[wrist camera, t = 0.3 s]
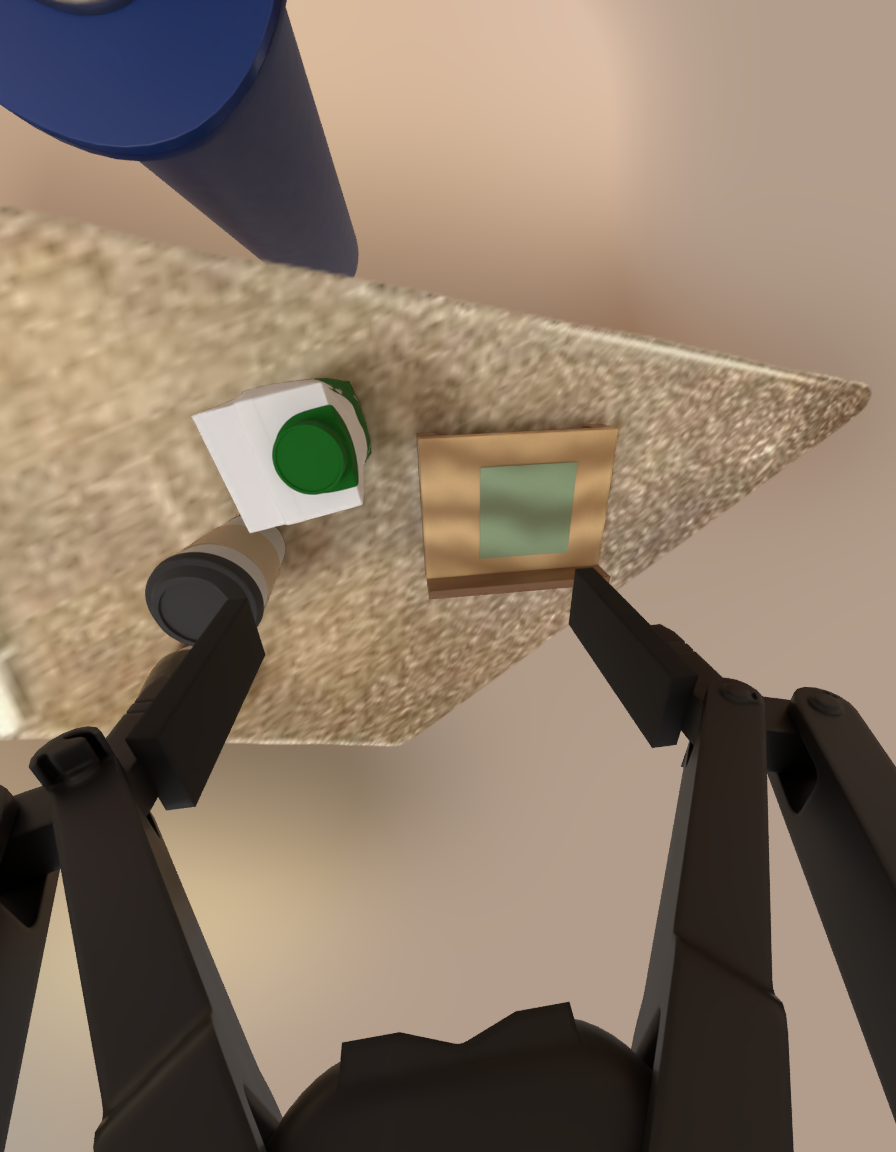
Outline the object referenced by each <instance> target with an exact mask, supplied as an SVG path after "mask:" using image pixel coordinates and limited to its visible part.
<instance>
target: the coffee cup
mask: <svg viewBox="0 0 896 1152" xmlns="http://www.w3.org/2000/svg"><path fill="white" fill-rule="evenodd" d="M284 555H285V542H284V539H283V537H282V535H281V533H280V532H279V530H278V529H277V528H276V527H273V528H269V529H265V530H261V531H257V532H253V533H249V531H248V529H247V527H246V525H245V523H244V521H243V519H242V517H241V516H239V517H236V518H234V519H232V520H230V521H229V522H227V523H226V524H224V525H223V526H221V527H218V528H216V529H214V530H212V531H211V532H209V533H208V534H206V535H205V536H203V537H201V538H200V539H198V540H197V541H195V542H194V543H192V544H191V545H189V546H187V547H186V548H184V549H183V550H181V551H180V552H179V553H177V554H176V555H174V556H171V557H169V558H167V559H166V560H164V561H163V562H161V563H160V564H159V565H158V566H157V567H156V568H155V569H154V571H153V572H152V574H151V576H150V577H149V579H148V581H147V585H146V590H145V596H146V602H147V606H148V608H149V611H150V613H151V615H152V616H153V618H154V619H155V621H156V622H157V623H158V625H159V626H160V627H161V628H162V630H163V631H165V632H166V633H167V634H168V635H169V636H171V637H172V638H174V639H175V640H177V641H179V642H181V643H184V644H186V645H190V646H193V645H194V644H195V643H196V641H197V640H198V639H199V637H200V636H201V634H202V633H203V632H204V630H205V629H206V628H207V626H208V625H209V624H210V622H211V621H212V619H213V618H214V617H215V615H216V614H217V613H218V611H219V610H220V609H221V607H222V606H223V604H224V603H225V602H226V600H229V599H240V598H248V601H249V604H250V607H251V610H252V614H253V617H254V620H255V623H256V626H258V625H259V623H260V622H261V619H262V616H263V612H264V609H265V607H266V605H267V603H268V600H269V598H270V595H271V592H272V590H273V587H274V585H275V582H276V579H277V577H278V574H279V570H280V565H281V563H282V560H283V558H284Z"/></svg>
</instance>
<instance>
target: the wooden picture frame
mask: <svg viewBox="0 0 896 1152" xmlns="http://www.w3.org/2000/svg"><path fill="white" fill-rule="evenodd" d="M618 430H619V429H618V428H614V427H610V426H607V425H603V424H591V425H583V428H581V429H561V430H541V431H522V432H502V433H482V434H463V435H443V436H437V435H436V433H435V432H431V433H416V438H417V453H418V469H419V484H420V499H421V515H422V530H423V545H424V560H425V573H426V580H427V587H428V594H429V599H440V598H452V597H464V596H475V595H487V594H499V593H511V592H522V591H534V590H546V589H557V588H569V587H573V584H574V575H575V569H578V568H589V567H593V568H594V569H595V570H596V571H597V572H598V573H599V574H600V575H601V576H602V577H603V578H604V579H605V580H606V581H607V582H608V583H609V580H610V576H609V575H608V574H607V573H606V572H605V571H604V570H603V569H602V568H601V567H600V566H599V565H598V561H599V555H600V548H601V542H602V535H603V529H604V522H605V515H606V509H607V502H608V496H609V489H610V483H611V476H612V469H613V463H614V456H615V450H616V443H617V437H618Z"/></svg>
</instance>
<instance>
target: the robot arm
mask: <svg viewBox="0 0 896 1152" xmlns="http://www.w3.org/2000/svg"><path fill="white" fill-rule="evenodd" d="M35 1H37V2H39V3H41V4H43V5H45V6H47V7H50V8H53V9H56V10H59V11H62V12H66V13H70V14H76V15H101V14H106V13H110V12H113V11H116V10H119V9H121V8H123V7H124V6H126V5H128V4H130V3H131V2H132V1H133V0H35ZM569 625H570V627H571V628H572V630H573V631H574V633H575V634H576V636H577V637H578V639H579V640H580V641H581V643H582V645H583V646H584V648H585V649H586V650H587V652H588V653H589V655H590V656H591V658H592V659H593V661H594V662H595V664H596V665H597V667H598V668H599V670H600V671H601V673H602V674H603V676H604V677H605V679H606V680H607V682H608V683H609V684H610V686H611V688H612V689H613V691H614V692H615V694H616V695H617V696H618V698H619V699H620V701H621V702H622V704H623V705H624V707H625V708H626V710H627V711H628V713H629V714H630V716H631V717H632V719H633V720H634V722H635V723H636V725H637V726H638V728H639V729H640V731H641V732H642V734H643V735H644V736H645V738H646V739H647V741H648V742H649V744H650V745H651V747H652V748H655V747H663V746H670V745H676V744H677V741H678V738H679V735H680V732H681V731H682V732H683V733H684V734H685V736H686V737H687V738H688V739H689V744H688V747H687V750H686V753H685V756H684V759H683V762H682V765H681V767H684V768H683V774H682V780H681V786H680V791H679V797H678V803H677V808H676V814H675V820H674V825H673V831H672V838H671V843H670V848H669V854H668V860H667V866H666V871H665V877H664V883H663V889H662V894H661V900H660V906H659V911H658V917H657V923H656V929H655V934H654V940H653V946H652V951H651V957H650V963H649V968H648V974H647V980H646V986H645V992H644V996H643V1000H642V1004H641V1008H640V1012H639V1016H638V1019H637V1024H636V1028H635V1032H634V1037H633V1042H632V1047H631V1049H630V1048H629V1047H628V1046H627V1045H626V1044H624V1043H623V1042H622V1041H620V1040H619V1039H617V1038H616V1037H615V1036H613V1035H612V1034H610V1033H608V1032H606V1031H604V1030H603V1029H601V1028H599V1027H597V1026H595V1025H592V1024H589V1023H587V1022H584V1021H582V1020H577V1019H574V1017H573V1013H572V1009H571V1006H570V1003H569V1002H566V1003H560V1004H555V1005H549V1006H543V1007H538V1008H532V1009H527V1010H522V1011H516V1012H514V1013H512V1014H511V1015H509V1016H508V1017H506V1018H504V1019H502V1020H501V1021H499V1022H498V1023H496V1024H494V1025H493V1026H491V1027H489V1028H488V1029H486V1030H484V1031H483V1032H481V1033H480V1034H478V1035H477V1036H475V1037H473V1038H471V1039H470V1040H468V1041H466V1042H464V1043H461V1044H453V1043H449V1042H443V1041H439V1040H434V1039H430V1038H425V1037H419V1036H415V1035H410V1034H405V1033H401V1032H398V1033H393V1034H387V1035H382V1036H376V1037H371V1038H365V1039H360V1040H354V1041H349V1042H343V1043H342V1050H341V1061H340V1062H339V1063H337V1064H336V1065H334V1066H332V1067H331V1068H330V1069H328V1070H327V1071H326V1072H324V1073H323V1074H322V1075H321V1076H319V1077H318V1078H317V1079H316V1080H315V1081H314V1082H313V1083H312V1084H311V1085H310V1086H309V1087H308V1088H307V1089H306V1090H305V1091H304V1092H303V1093H302V1094H301V1095H300V1096H299V1098H298V1099H297V1100H296V1101H295V1103H294V1104H293V1105H292V1106H291V1107H290V1108H289V1110H288V1111H287V1113H286V1114H285V1116H284V1117H282V1115H281V1113H280V1110H279V1108H278V1106H277V1104H276V1101H275V1099H274V1097H273V1095H272V1093H271V1091H270V1089H269V1087H268V1085H267V1083H266V1081H265V1080H264V1078H263V1076H262V1074H261V1072H260V1070H259V1068H258V1066H257V1063H256V1061H255V1059H254V1057H253V1054H252V1052H251V1049H250V1047H249V1045H248V1042H247V1040H246V1037H245V1035H244V1033H243V1030H242V1028H241V1025H240V1023H239V1020H238V1018H237V1016H236V1013H235V1011H234V1009H233V1006H232V1004H231V1001H230V999H229V996H228V994H227V992H226V989H225V987H224V984H223V982H222V980H221V977H220V975H219V973H218V970H217V968H216V965H215V963H214V960H213V958H212V956H211V953H210V951H209V949H208V946H207V943H206V941H205V939H204V936H203V934H202V931H201V929H200V927H199V924H198V922H197V919H196V917H195V915H194V912H193V910H192V907H191V905H190V903H189V901H188V898H187V896H186V893H185V891H184V888H183V886H182V883H181V881H180V879H179V876H178V874H177V871H176V869H175V867H174V864H173V862H172V859H171V857H170V855H169V852H168V850H167V847H166V845H165V842H164V840H163V838H162V835H161V833H160V830H159V828H158V826H157V823H156V821H155V818H154V817H153V815H152V814H151V812H150V810H151V808H152V807H153V805H154V803H155V801H156V800H157V798H158V797H159V799H160V801H161V802H162V804H163V806H164V808H165V809H166V810H172V809H180V808H188V807H195V806H196V804H197V802H198V800H199V798H200V796H201V793H202V791H203V789H204V787H205V785H206V783H207V780H208V778H209V776H210V774H211V772H212V769H213V767H214V765H215V763H216V761H217V759H218V756H219V754H220V752H221V750H222V748H223V745H224V743H225V741H226V739H227V737H228V735H229V732H230V730H231V728H232V726H233V724H234V722H235V719H236V717H237V715H238V713H239V711H240V708H241V706H242V704H243V702H244V700H245V698H246V695H247V693H248V691H249V689H250V687H251V685H252V682H253V680H254V678H255V676H256V674H257V671H258V669H259V667H260V665H261V663H262V661H263V658H264V656H265V652H264V649H263V646H262V643H261V639H260V636H259V633H258V630H257V626H256V623H255V620H254V617H253V614H252V610H251V607H250V604H249V601H248V598H240V599H229V600H226V602H225V603H224V604H223V606H222V607H221V609H220V610H219V611H218V613H217V614H216V615H215V617H214V618H213V619H212V621H211V622H210V624H209V625H208V626H207V628H206V629H205V630H204V632H203V633H202V634H201V636H200V637H199V639H198V640H197V641H196V643H195V644H194V645H193V647H192V648H191V649H190V651H189V652H188V654H187V655H186V656H185V658H184V659H183V660H182V662H181V663H180V664H179V666H178V667H177V669H176V670H175V671H174V673H173V674H172V675H168V676H160V677H159V678H158V679H157V680H155V681H154V682H153V683H151V684H150V685H149V686H147V687H146V688H145V689H144V690H143V692H142V693H141V694H140V695H139V697H138V698H137V699H136V701H135V704H132V706H131V707H130V708H129V709H128V711H127V714H126V715H124V716H123V717H122V718H121V720H120V721H119V722H118V723H117V725H116V726H115V727H114V728H113V730H112V731H111V732H110V734H109V735H108V736H107V737H106V739H105V737H104V735H103V734H102V732H101V731H100V730H99V729H98V728H97V727H89V726H87V727H82V728H76V729H74V730H71V731H68V732H66V733H63V734H61V735H59V736H58V737H56V738H54V739H52V740H51V741H49V742H48V743H47V744H45V745H44V746H43V747H42V748H40V749H39V750H38V751H37V752H36V753H35V755H34V756H33V757H32V758H31V760H30V764H29V768H30V770H31V771H32V772H33V774H34V775H35V776H36V777H37V779H38V780H39V781H40V782H41V783H42V785H43V786H41V787H38V788H35V789H32V790H29V791H26V792H24V793H21V794H18V795H15V796H13V795H12V794H11V793H10V792H9V791H8V790H7V789H6V788H5V787H3V786H2V785H0V1152H4V1149H5V1144H6V1139H7V1134H8V1129H9V1124H10V1119H11V1114H12V1109H13V1104H14V1099H15V1094H16V1089H17V1084H18V1079H19V1074H20V1069H21V1064H22V1059H23V1053H24V1048H25V1043H26V1038H27V1033H28V1028H29V1023H30V1018H31V1013H32V1008H33V1003H34V998H35V993H36V988H37V983H38V978H39V973H40V967H41V963H42V957H43V952H44V947H45V942H46V937H47V932H48V927H49V922H50V917H51V912H52V907H53V902H54V897H55V892H56V886H57V881H58V877H59V871H60V869H61V873H62V878H63V884H64V889H65V895H66V901H67V906H68V912H69V918H70V924H71V929H72V934H73V940H74V946H75V952H76V957H77V963H78V969H79V974H80V980H81V986H82V991H83V996H84V1003H85V1008H86V1013H87V1019H88V1025H89V1031H90V1036H91V1041H92V1047H93V1053H94V1059H95V1065H96V1070H97V1076H98V1081H99V1087H100V1092H101V1098H102V1106H103V1118H102V1122H101V1123H100V1125H99V1127H98V1128H97V1130H96V1132H95V1138H94V1146H93V1149H94V1152H794V1150H793V1130H792V1108H791V1087H790V1065H789V1044H788V1029H787V1019H786V1013H785V1010H784V1006H783V1003H782V1002H781V1001H780V1000H779V999H778V998H777V997H776V996H775V993H774V990H773V984H772V983H773V982H772V954H771V913H770V879H769V878H770V877H769V835H768V796H767V774H768V777H769V779H770V782H771V785H772V787H773V790H774V793H775V796H776V798H777V801H778V803H779V807H780V809H781V812H782V815H783V817H784V820H785V823H786V826H787V828H788V831H789V833H790V837H791V839H792V842H793V845H794V847H795V850H796V853H797V856H798V858H799V861H800V864H801V867H802V869H803V872H804V875H805V877H806V880H807V883H808V886H809V888H810V891H811V894H812V896H813V899H814V902H815V904H816V907H817V910H818V913H819V915H820V918H821V921H822V923H823V926H824V929H825V931H826V934H827V937H828V940H829V943H830V945H831V948H832V951H833V954H834V956H835V959H836V962H837V964H838V967H839V970H840V973H841V975H842V978H843V981H844V983H845V986H846V989H847V991H848V994H849V997H850V1000H851V1003H852V1005H853V1008H854V1011H855V1013H856V1016H857V1019H858V1021H859V1024H860V1027H861V1030H862V1032H863V1035H864V1038H865V1041H866V1043H867V1046H868V1049H869V1052H870V1054H871V1057H872V1059H873V1062H874V1065H875V1068H876V1070H877V1073H878V1076H879V1079H880V1081H881V1084H882V1087H883V1090H884V1092H885V1095H886V1098H887V1100H888V1103H889V1106H890V1109H891V1111H892V1114H893V1117H894V1120H895V1122H896V767H895V765H894V764H893V762H892V761H891V759H890V758H889V756H888V755H887V754H886V752H885V751H884V749H883V748H882V746H881V745H880V743H879V742H878V740H877V739H876V738H875V736H874V735H873V733H872V732H871V730H870V729H869V727H868V726H867V724H866V723H865V721H864V720H863V719H862V717H861V716H860V714H859V713H858V711H857V710H856V709H855V708H854V707H853V706H852V705H851V704H850V703H849V702H847V701H846V700H844V699H843V698H841V697H840V696H838V695H836V694H834V693H831V692H829V691H826V690H821V689H818V688H812V687H803V688H799V689H797V690H796V691H795V692H794V694H793V696H792V698H791V700H786V699H778V698H769V697H763V696H761V694H760V693H759V692H758V691H757V690H756V689H754V688H752V687H751V686H749V685H748V684H746V683H743V682H741V681H738V680H735V679H730V678H723V677H722V676H720V675H719V674H718V673H717V672H716V671H715V670H714V669H713V668H712V667H711V666H710V665H709V664H708V663H707V662H706V661H705V660H704V659H702V658H701V657H700V656H699V655H698V654H697V653H696V652H694V651H693V649H692V648H691V647H690V646H689V645H688V644H685V641H684V640H683V639H681V638H680V637H679V636H678V635H677V634H676V633H675V632H674V631H672V630H670V629H668V628H666V627H664V626H663V625H661V624H657V625H650V624H649V623H648V622H647V621H646V620H645V619H644V618H643V617H642V616H641V615H640V614H639V613H638V612H637V611H636V610H635V609H634V608H633V607H632V606H631V605H630V604H629V603H628V602H627V601H626V600H625V599H624V598H623V597H622V596H621V595H620V594H619V593H618V592H617V591H616V590H615V589H614V588H613V587H612V586H611V585H610V584H609V583H608V582H607V581H606V580H605V579H604V578H603V577H602V576H601V575H600V574H599V573H598V572H597V571H596V570H595V569H594V568H593V567H589V568H578V569H575V575H574V584H573V592H572V601H571V609H570V618H569Z"/></svg>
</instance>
